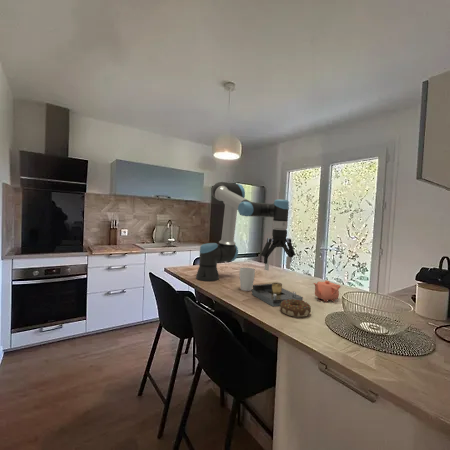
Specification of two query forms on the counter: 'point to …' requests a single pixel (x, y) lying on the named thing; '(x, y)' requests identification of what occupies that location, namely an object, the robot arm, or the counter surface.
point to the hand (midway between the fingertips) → (277, 269)
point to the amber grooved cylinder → (276, 288)
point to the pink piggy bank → (327, 291)
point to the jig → (273, 299)
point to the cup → (246, 278)
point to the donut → (295, 308)
